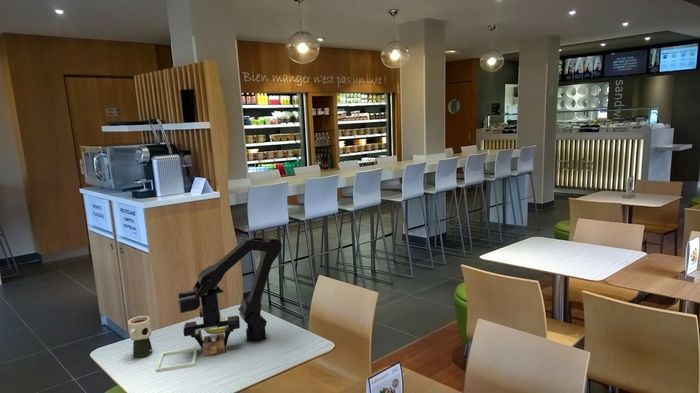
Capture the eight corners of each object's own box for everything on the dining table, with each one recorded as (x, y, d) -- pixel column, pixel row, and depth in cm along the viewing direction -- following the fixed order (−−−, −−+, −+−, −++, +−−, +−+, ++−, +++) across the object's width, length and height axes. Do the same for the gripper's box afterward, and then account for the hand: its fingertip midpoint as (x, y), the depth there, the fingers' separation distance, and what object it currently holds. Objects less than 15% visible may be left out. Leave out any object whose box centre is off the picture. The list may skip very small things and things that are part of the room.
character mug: (144, 361, 162) (140, 326, 161) (125, 361, 163) (120, 326, 161) (160, 347, 173) (156, 313, 171) (141, 347, 174) (137, 313, 172)
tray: (197, 351, 168) (197, 347, 167) (194, 368, 156) (194, 363, 156) (161, 357, 165) (161, 352, 165) (156, 374, 153) (155, 369, 153)
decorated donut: (219, 322, 193) (219, 314, 192) (239, 327, 187) (238, 318, 187) (199, 332, 184) (198, 323, 183) (219, 338, 178) (218, 328, 178)
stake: (226, 345, 172) (225, 330, 171) (226, 355, 164) (224, 339, 163) (203, 348, 170) (202, 333, 169) (202, 358, 162) (200, 342, 161)
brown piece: (225, 343, 171) (224, 333, 170) (224, 354, 163) (223, 343, 162) (205, 346, 169) (203, 336, 169) (203, 357, 161) (202, 346, 161)
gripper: (237, 295, 174) (241, 335, 177) (184, 302, 170) (189, 342, 173) (237, 305, 164) (241, 348, 166) (181, 313, 159) (186, 356, 162)
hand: (214, 348), depth 167 cm, fingers closed on brown piece, 7 cm apart
